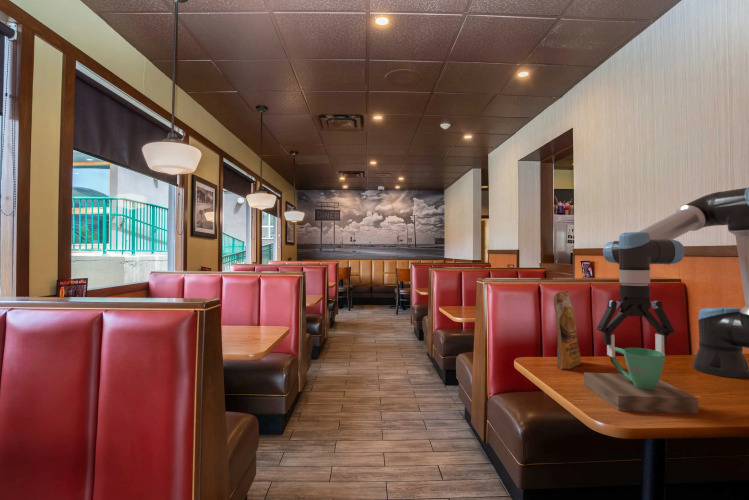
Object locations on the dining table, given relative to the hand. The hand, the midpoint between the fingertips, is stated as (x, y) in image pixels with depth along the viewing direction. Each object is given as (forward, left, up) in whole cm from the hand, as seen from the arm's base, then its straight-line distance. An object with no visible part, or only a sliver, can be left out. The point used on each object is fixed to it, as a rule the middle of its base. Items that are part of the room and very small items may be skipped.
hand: (635, 356), depth 110 cm
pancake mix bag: (+6, -33, -12) cm, 36 cm away
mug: (0, 0, -8) cm, 8 cm away
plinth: (0, 0, -12) cm, 12 cm away
